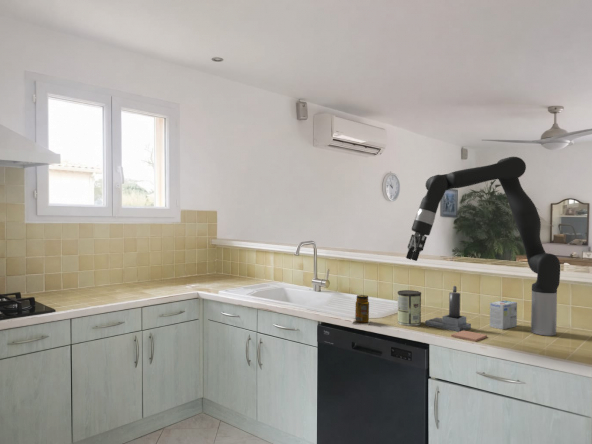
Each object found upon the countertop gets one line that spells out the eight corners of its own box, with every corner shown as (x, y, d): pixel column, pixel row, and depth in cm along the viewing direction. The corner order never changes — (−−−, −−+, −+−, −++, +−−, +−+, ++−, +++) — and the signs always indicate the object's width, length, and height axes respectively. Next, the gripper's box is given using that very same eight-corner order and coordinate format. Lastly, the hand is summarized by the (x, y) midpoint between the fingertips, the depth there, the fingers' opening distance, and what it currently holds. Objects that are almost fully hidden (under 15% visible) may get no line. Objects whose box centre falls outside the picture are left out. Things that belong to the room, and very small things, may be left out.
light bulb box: (503, 323, 206) (503, 299, 206) (517, 326, 200) (517, 302, 200) (488, 326, 200) (489, 302, 200) (503, 329, 194) (503, 304, 194)
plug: (452, 321, 200) (452, 284, 199) (461, 323, 196) (462, 285, 196) (447, 323, 197) (447, 285, 196) (456, 325, 193) (457, 286, 193)
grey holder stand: (436, 321, 208) (437, 310, 208) (470, 328, 196) (471, 316, 196) (425, 325, 201) (425, 313, 201) (459, 332, 190) (459, 320, 189)
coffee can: (404, 319, 212) (404, 289, 212) (424, 323, 205) (425, 291, 205) (392, 323, 204) (393, 291, 204) (413, 327, 198) (414, 294, 197)
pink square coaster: (463, 332, 189) (463, 330, 189) (487, 337, 182) (487, 335, 182) (451, 336, 183) (451, 334, 183) (475, 341, 175) (475, 339, 175)
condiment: (370, 321, 209) (370, 294, 209) (368, 325, 200) (369, 298, 200) (354, 320, 210) (354, 294, 210) (352, 324, 202) (352, 297, 202)
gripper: (438, 224, 179) (425, 263, 179) (427, 225, 194) (415, 261, 193) (420, 218, 179) (406, 257, 179) (410, 219, 194) (398, 255, 193)
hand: (411, 259), depth 186 cm, fingers open, 8 cm apart
